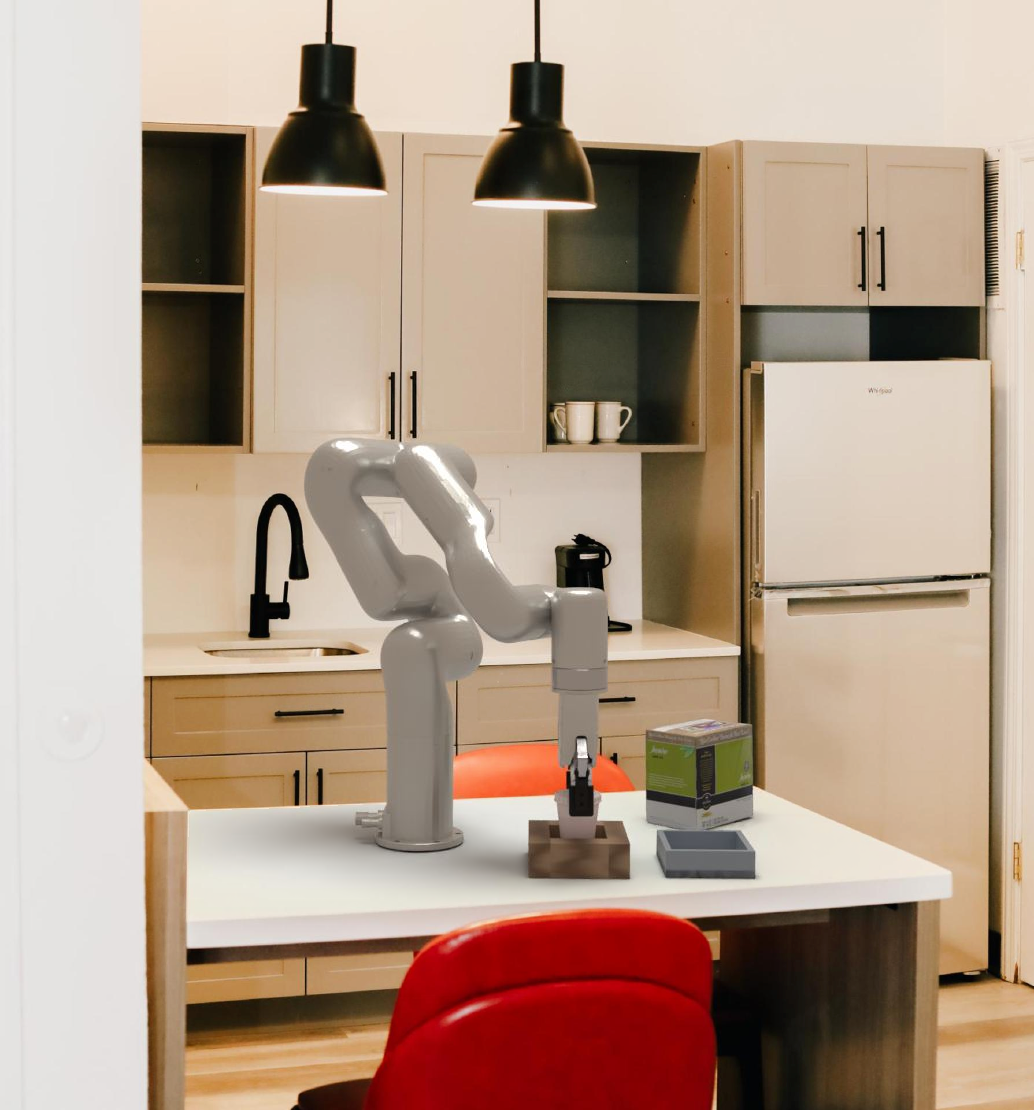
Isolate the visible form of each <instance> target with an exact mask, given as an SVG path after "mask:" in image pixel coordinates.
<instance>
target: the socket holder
mask: <svg viewBox="0 0 1034 1110" xmlns="http://www.w3.org/2000/svg"><path fill="white" fill-rule="evenodd" d="M527 827H528V830H527V831H528V835H527V837H528V838H527V839H528V840H527V841H528V844H527V846H528V848H527V854H528V856H527V857H528V859H527V860H528V878H529V879H532V878H533V879H610V880H611V879H612V880H614V879H624V880H625V879H627V880H628V879H631V875H630V873H631V843H630V840H629V836H628V832H627V831H626V830H627V829H626V827H625V825H624V822H623V820H597V824H596V832H595V839H585V838H560V829H559V820H558V819H554V820H553V819H528V826H527Z"/></svg>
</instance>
